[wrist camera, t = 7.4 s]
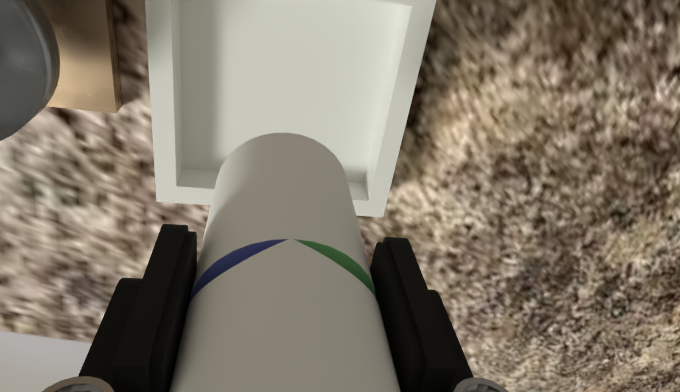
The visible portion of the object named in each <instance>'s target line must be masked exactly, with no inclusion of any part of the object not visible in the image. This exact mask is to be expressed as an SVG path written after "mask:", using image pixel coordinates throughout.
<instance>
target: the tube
mask: <svg viewBox="0 0 680 392" xmlns="http://www.w3.org/2000/svg"><path fill="white" fill-rule="evenodd" d="M169 392H401V391H400V387H399V383H398V379H397V375H396V371H395V367H394V363H393V359H392V355H391V352H390V348H389V344H388V340H387V336H386V332H385V328H384V324H383V320H382V316H381V312H380V308H379V304H378V302H377V300H376V294H375V288H374V284H373V280H372V276H371V272H370V268H369V264H368V260H367V256H366V253H365V249H364V245H363V241H362V237H361V233H360V229H359V225H358V221H357V217H356V213H355V209H354V205H353V201H352V197H351V193H350V189H349V185H348V181H347V177H346V174H345V172H344V169H343V167H342V164H341V163H340V162H339V160H338V159H337V157H336V156H335V155H334V154H333V153H332V152H331V151H330V150H329V149H328V148H327V147H326V146H324V145H323V144H321V143H319V142H317V141H316V140H314V139H312V138H309V137H306V136H303V135H300V134H294V133H270V134H265V135H261V136H258V137H255V138H253V139H250V140H248V141H246V142H245V143H243V144H242V145H240V146H238V147H237V148H236V149H235V150H234V151H233V152H232V153H231V154H230V155H229V156H228V157H227V158H226V160H225V161H224V163H223V165H222V166H221V168H220V171H219V174H218V177H217V180H216V185H215V189H214V194H213V198H212V202H211V207H210V211H209V216H208V220H207V225H206V229H205V233H204V238H203V242H202V247H201V251H200V256H199V260H198V264H197V269H196V273H195V278H194V282H193V287H192V291H191V295H190V302H189V305H188V309H187V313H186V318H185V322H184V326H183V331H182V335H181V340H180V344H179V349H178V353H177V357H176V362H175V366H174V371H173V375H172V380H171V384H170V388H169Z"/></svg>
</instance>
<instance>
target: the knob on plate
mask: <svg viewBox="0 0 680 392" xmlns="http://www.w3.org/2000/svg"><path fill="white" fill-rule="evenodd" d="M45 106H50V107H60V108H70V109H80V110H90V111H101V112H111V113H117V112H118V110H119V109H120V108H121V107H122V97H121V86H120V75H119V64H118V54H117V43H116V32H115V21H114V10H113V0H0V141H1V140H3V139H5V138H7V137H9V136H11V135H13V134H14V133H15V132H17V131H18V130H19V129H21V128H22V127H23V126H24V125H25V124H27V123H28V122H29V121H30V120H31V119H32V118H34V117H35V116H36V115H37V114H38V113H39V112H41V110H42V109H43V108H44V107H45Z"/></svg>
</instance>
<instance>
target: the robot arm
mask: <svg viewBox="0 0 680 392" xmlns="http://www.w3.org/2000/svg"><path fill="white" fill-rule="evenodd" d="M196 269H197V234H196V232H190V231H188V226H187V225H174V224H163V225H162V227H161V230H160V232H159V235H158V238H157V241H156V243H155V246H154V249H153V252H152V254H151V257H150V260H149V263H148V265H147V268H146V271H145V274H144V276H143V279H139V278H122V279H120V280H119V282H118V284H117V286H116V289H115V291H114V293H113V296H112V298H111V300H110V303H109V305H108V307H107V310H106V312H105V314H104V317H103V319H102V322H101V324H100V326H99V329H98V331H97V333H96V336H95V338H94V340H93V343H92V345H91V347H90V350H89V352H88V354H87V357H86V359H85V362H84V364H83V366H82V369H81V371H80V373H79V376H78V377H73V378H69V379H65V380H62V381H59V382H57V383H55V384H53V385H52V386H50V387H48V388H46V389H45V390H44V391H42V392H169V388H170V384H171V380H172V375H173V371H174V366H175V362H176V357H177V353H178V349H179V344H180V340H181V335H182V331H183V326H184V322H185V318H186V313H187V309H188V305H189V302H190V295H191V291H192V287H193V282H194V278H195V273H196ZM370 272H371V276H372V280H373V284H374V288H375V294H376V300H377V302H378V304H379V308H380V312H381V316H382V320H383V324H384V328H385V332H386V336H387V340H388V344H389V348H390V352H391V355H392V359H393V363H394V367H395V371H396V375H397V379H398V383H399V387H400V391H401V392H508V391H507V390H506V389H505V388H503V387H502V386H500V385H498V384H497V383H495V382H493V381H490V380H487V379H484V378H474V377H473V374H472V372H471V370H470V367H469V365H468V362H467V360H466V358H465V355H464V353H463V350H462V348H461V346H460V343H459V341H458V338H457V336H456V333H455V331H454V329H453V326H452V324H451V321H450V319H449V317H448V314H447V312H446V309H445V307H444V305H443V302H442V300H441V297H440V295H439V294H438V292H437V291H435V290H428V288H427V286H426V283H425V281H424V278H423V276H422V273H421V270H420V268H419V265H418V263H417V260H416V258H415V255H414V252H413V250H412V247H411V245H410V242H409V240H408V239H407V238H395V237H386V238H385V239H384V241H383V242H378V243H377V244H376V247H375V251H374V255H373V259H372V263H371V267H370Z"/></svg>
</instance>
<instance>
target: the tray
mask: <svg viewBox="0 0 680 392" xmlns="http://www.w3.org/2000/svg"><path fill="white" fill-rule="evenodd" d="M435 4H436V0H145V13H146V30H147V47H148V64H149V81H150V98H151V115H152V132H153V149H154V167H155V184H156V201H157V202H171V203H186V204H200V205H211V202H212V198H213V194H214V189H215V185H216V180H217V177H218V174H219V171H220V168H221V166H222V165H223V163H224V161H225V160H226V158H227V157H228V156H229V155H230V154H231V153H232V152H233V151H234V150H235V149H236V148H237V147H238V146H240V145H242V144H243V143H245V142H246V141H248V140H250V139H253V138H255V137H258V136H261V135H265V134H270V133H294V134H300V135H303V136H306V137H309V138H312V139H314V140H316V141H317V142H319V143H321V144H323V145H324V146H326V147H327V148H328V149H329V150H330V151H331V152H332V153H333V154H334V155H335V156H336V157H337V159H338V160H339V162H340V163H341V164H342V167H343V169H344V172H345V174H346V177H347V181H348V185H349V189H350V193H351V197H352V201H353V205H354V209H355V213H356V215H359V216H373V217H383V215H384V211H385V207H386V203H387V199H388V195H389V191H390V187H391V183H392V179H393V175H394V171H395V166H396V162H397V158H398V154H399V150H400V146H401V142H402V138H403V134H404V130H405V126H406V122H407V118H408V114H409V110H410V106H411V102H412V97H413V93H414V89H415V85H416V81H417V77H418V73H419V69H420V65H421V61H422V57H423V53H424V49H425V45H426V41H427V37H428V33H429V28H430V24H431V20H432V16H433V12H434V8H435Z"/></svg>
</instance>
